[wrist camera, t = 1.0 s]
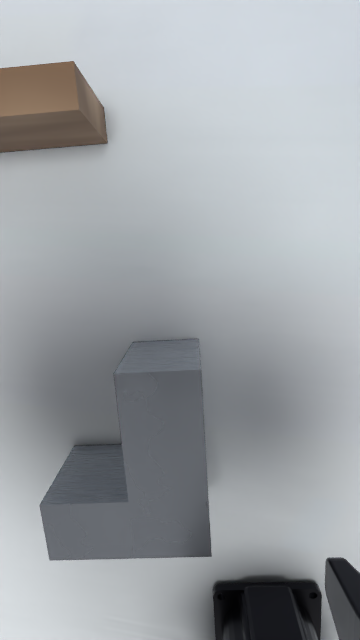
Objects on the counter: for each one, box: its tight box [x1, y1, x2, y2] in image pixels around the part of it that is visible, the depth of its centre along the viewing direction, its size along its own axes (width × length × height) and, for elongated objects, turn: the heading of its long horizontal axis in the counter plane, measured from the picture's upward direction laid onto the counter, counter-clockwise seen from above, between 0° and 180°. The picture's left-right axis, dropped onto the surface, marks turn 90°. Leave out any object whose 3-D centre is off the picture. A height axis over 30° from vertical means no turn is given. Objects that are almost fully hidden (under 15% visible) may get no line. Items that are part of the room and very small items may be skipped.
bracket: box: [40, 339, 212, 560], centre depth 17 cm, size 9×8×4 cm
